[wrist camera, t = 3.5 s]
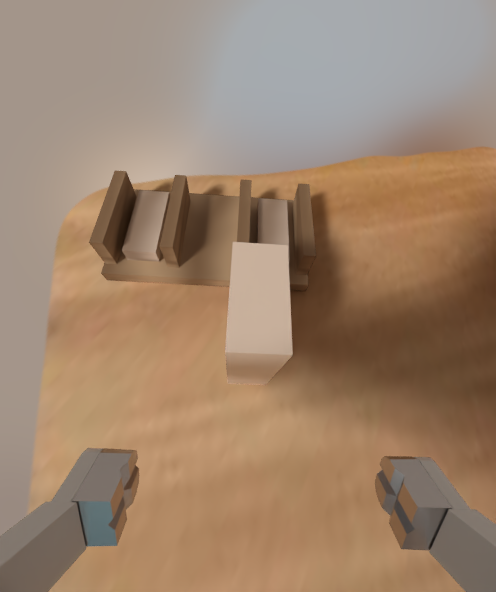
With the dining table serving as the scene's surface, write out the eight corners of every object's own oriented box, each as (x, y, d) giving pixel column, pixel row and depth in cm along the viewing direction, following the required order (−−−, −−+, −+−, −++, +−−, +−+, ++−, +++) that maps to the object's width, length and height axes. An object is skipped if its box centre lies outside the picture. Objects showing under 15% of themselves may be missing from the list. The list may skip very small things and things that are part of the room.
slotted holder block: (299, 209, 29) (309, 176, 25) (305, 290, 25) (318, 266, 21) (131, 197, 28) (116, 163, 25) (107, 279, 24) (83, 252, 20)
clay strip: (266, 314, 23) (287, 245, 14) (265, 385, 21) (292, 355, 12) (231, 312, 23) (232, 241, 14) (227, 383, 21) (225, 352, 12)
